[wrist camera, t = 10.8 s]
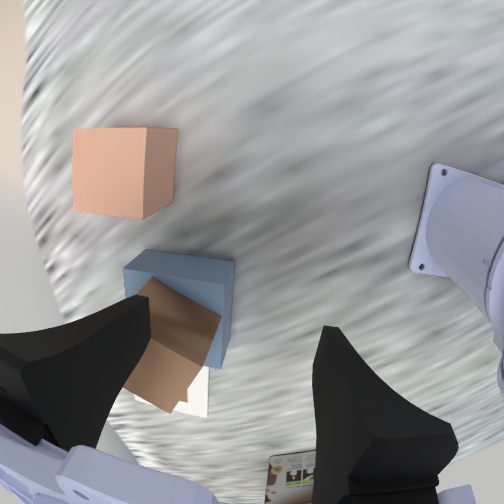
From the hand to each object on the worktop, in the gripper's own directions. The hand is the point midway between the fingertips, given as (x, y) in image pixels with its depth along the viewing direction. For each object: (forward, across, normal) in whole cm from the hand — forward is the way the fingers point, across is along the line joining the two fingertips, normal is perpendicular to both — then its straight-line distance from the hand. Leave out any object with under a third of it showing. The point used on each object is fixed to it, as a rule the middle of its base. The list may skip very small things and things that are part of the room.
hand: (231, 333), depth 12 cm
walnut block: (+7, +5, +5) cm, 10 cm away
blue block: (+11, +5, +5) cm, 13 cm away
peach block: (+10, +9, -5) cm, 15 cm away
